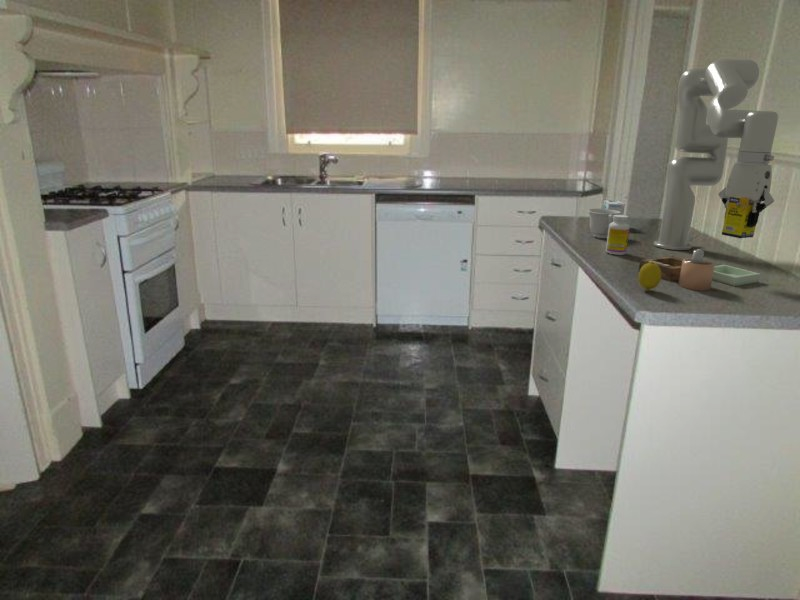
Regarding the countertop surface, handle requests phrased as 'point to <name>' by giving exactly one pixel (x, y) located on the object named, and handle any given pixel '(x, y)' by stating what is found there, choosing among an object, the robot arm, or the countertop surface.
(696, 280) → the tan dispenser bottle
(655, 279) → the lemon
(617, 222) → the supplement bottle
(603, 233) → the teacup
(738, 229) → the supplement box
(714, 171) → the robot arm
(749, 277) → the pale green square tray
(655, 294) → the countertop surface
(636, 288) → the countertop surface
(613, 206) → the light bulb box
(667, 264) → the wooden cubby shelf
